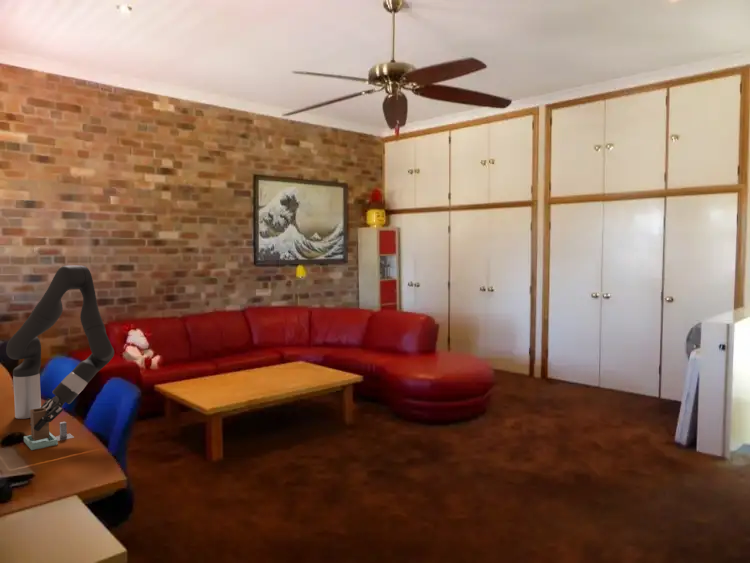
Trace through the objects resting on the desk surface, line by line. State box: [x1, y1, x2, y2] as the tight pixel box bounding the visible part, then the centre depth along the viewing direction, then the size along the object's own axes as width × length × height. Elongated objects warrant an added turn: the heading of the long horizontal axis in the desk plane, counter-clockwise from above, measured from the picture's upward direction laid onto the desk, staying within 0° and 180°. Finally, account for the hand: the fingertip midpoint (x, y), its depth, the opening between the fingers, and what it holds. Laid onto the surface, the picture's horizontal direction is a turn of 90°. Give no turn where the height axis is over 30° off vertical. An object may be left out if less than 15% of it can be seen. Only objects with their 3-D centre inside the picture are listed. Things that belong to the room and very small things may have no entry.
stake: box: [54, 421, 75, 442], centre depth 202 cm, size 6×6×6 cm
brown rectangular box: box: [30, 408, 50, 441], centre depth 196 cm, size 5×5×10 cm
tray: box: [23, 431, 59, 451], centre depth 196 cm, size 12×8×2 cm
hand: (33, 427), depth 194 cm, fingers closed on brown rectangular box, 4 cm apart
